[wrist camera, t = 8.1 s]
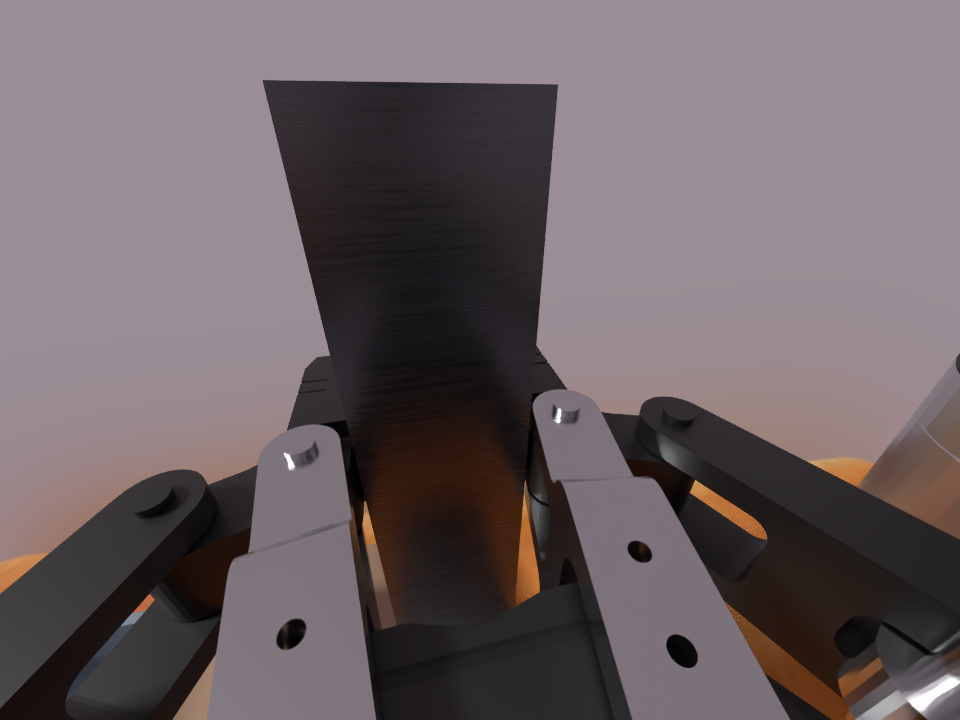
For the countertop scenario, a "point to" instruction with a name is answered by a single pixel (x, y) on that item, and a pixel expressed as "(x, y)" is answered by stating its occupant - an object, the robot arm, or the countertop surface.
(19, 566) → the countertop surface
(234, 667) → the robot arm
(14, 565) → the countertop surface
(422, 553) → the dark grey tall part
